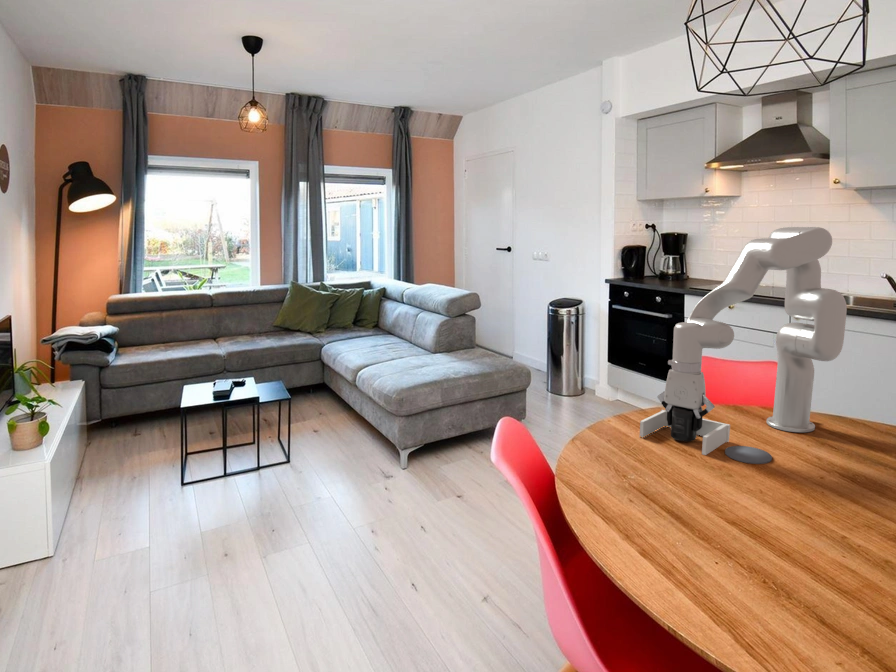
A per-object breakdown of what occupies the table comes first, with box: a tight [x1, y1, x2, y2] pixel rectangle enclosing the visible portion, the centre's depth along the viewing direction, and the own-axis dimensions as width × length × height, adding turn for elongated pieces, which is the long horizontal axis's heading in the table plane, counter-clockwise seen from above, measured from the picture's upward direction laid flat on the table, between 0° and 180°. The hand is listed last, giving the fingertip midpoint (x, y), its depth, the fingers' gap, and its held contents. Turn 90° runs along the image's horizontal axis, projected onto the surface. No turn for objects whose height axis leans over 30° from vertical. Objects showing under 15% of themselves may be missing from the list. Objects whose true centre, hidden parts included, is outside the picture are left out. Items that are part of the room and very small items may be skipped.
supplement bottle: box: [670, 406, 697, 442], centre depth 161 cm, size 7×7×12 cm
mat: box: [724, 445, 773, 465], centre depth 150 cm, size 11×11×1 cm
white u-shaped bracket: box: [639, 409, 731, 456], centre depth 162 cm, size 14×20×5 cm
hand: (683, 426), depth 161 cm, fingers closed on supplement bottle, 6 cm apart
